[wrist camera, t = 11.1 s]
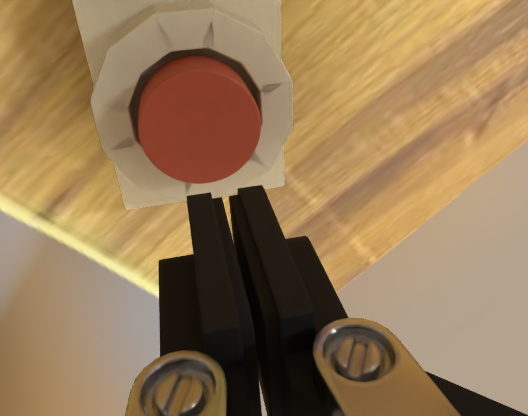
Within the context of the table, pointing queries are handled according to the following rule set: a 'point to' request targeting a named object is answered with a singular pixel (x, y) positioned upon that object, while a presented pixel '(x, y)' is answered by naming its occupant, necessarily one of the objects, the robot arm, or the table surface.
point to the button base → (172, 47)
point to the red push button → (198, 120)
